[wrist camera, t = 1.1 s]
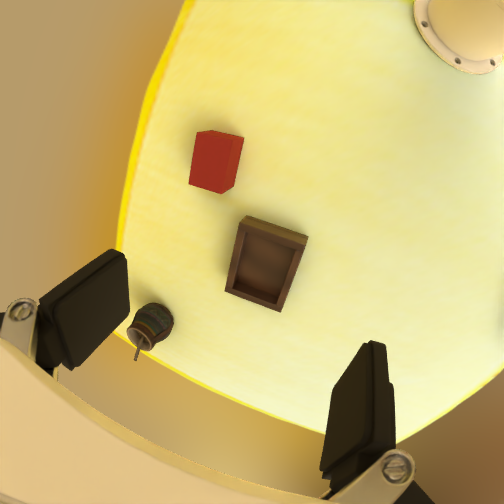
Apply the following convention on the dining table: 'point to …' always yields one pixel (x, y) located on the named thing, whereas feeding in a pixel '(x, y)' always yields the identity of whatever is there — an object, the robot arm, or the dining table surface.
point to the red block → (215, 161)
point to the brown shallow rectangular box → (264, 262)
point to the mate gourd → (150, 327)
